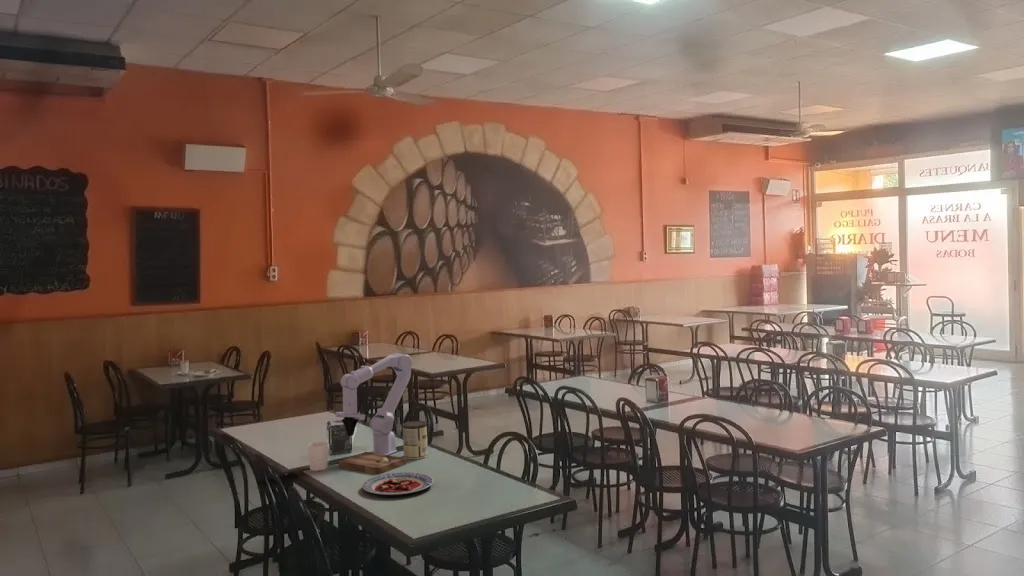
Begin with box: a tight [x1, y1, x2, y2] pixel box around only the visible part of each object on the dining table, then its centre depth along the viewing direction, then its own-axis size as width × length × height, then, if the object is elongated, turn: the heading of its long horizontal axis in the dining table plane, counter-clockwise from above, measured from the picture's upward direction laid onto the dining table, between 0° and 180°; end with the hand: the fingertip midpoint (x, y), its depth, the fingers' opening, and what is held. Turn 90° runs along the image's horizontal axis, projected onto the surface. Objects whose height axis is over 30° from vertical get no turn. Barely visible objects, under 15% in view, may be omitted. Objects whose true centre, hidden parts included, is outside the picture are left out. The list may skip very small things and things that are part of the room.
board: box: [338, 451, 407, 475], centre depth 308 cm, size 16×22×2 cm
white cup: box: [307, 441, 329, 472], centre depth 305 cm, size 8×8×10 cm
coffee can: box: [402, 420, 429, 461], centre depth 320 cm, size 10×10×14 cm
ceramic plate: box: [362, 471, 435, 496], centre depth 277 cm, size 26×26×3 cm
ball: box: [379, 457, 389, 464], centre depth 305 cm, size 4×4×4 cm
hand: (350, 435), depth 316 cm, fingers closed
